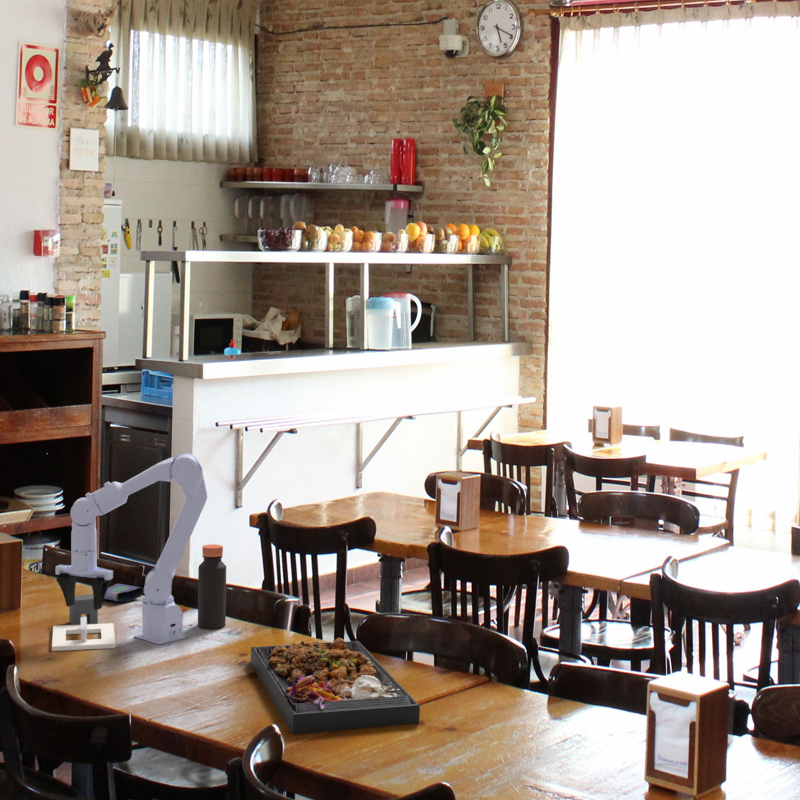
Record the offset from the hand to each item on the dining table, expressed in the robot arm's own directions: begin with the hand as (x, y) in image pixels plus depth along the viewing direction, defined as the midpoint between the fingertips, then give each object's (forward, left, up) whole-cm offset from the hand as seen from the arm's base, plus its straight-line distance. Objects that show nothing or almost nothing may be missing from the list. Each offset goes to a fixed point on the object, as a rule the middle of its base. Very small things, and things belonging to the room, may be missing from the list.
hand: (84, 607), depth 281 cm
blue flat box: (+21, -29, -8) cm, 37 cm away
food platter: (-68, -12, -8) cm, 69 cm away
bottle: (-13, -28, -8) cm, 32 cm away
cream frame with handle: (0, 0, -8) cm, 8 cm away
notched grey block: (+11, -8, -8) cm, 16 cm away
